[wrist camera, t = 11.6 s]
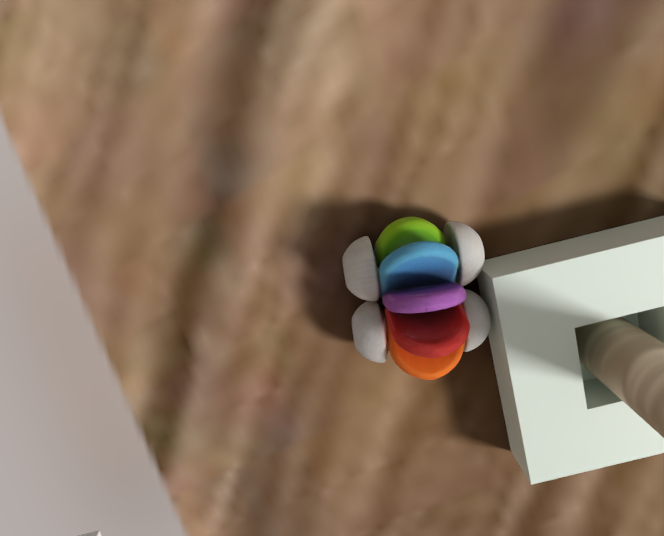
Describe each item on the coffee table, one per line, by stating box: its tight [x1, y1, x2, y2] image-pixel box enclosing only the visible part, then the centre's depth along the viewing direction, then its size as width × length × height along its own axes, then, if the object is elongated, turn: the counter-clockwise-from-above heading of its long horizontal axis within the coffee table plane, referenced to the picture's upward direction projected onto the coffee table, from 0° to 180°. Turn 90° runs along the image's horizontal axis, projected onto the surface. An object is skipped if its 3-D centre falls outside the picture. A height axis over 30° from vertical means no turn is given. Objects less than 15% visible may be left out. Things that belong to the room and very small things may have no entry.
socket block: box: [477, 216, 664, 485], centre depth 39 cm, size 14×14×4 cm
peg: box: [575, 317, 664, 438], centre depth 34 cm, size 4×4×14 cm
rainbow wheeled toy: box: [342, 217, 491, 380], centre depth 36 cm, size 8×10×7 cm
